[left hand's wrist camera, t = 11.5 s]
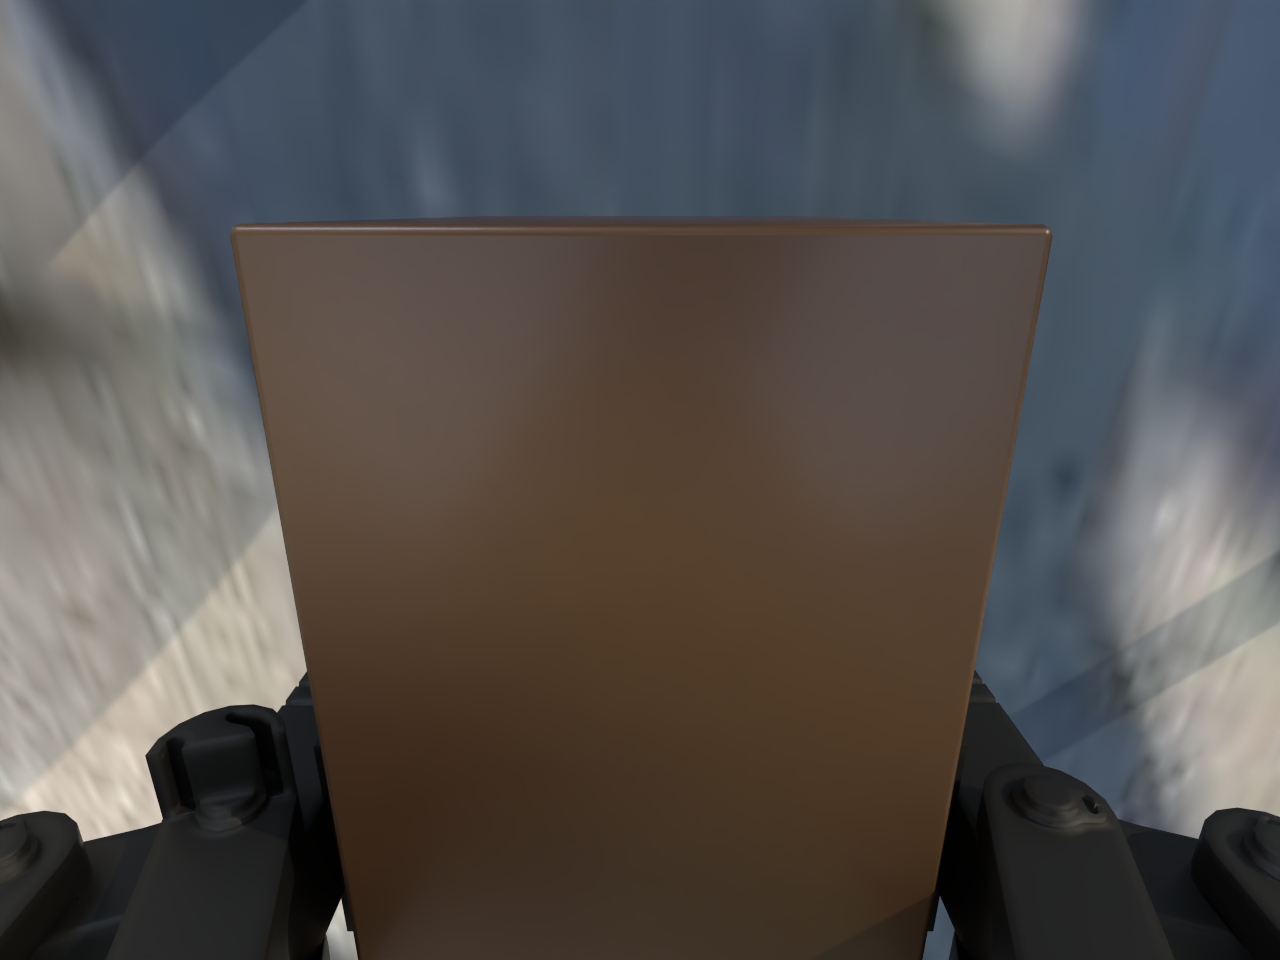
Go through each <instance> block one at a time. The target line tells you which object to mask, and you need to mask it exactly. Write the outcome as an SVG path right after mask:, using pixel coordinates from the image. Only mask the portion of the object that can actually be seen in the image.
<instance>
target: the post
mask: <svg viewBox="0 0 1280 960" xmlns="http://www.w3.org/2000/svg"><path fill="white" fill-rule="evenodd" d="M230 238H231V243H232V249H233V255H234V260H235V266H236V272H237V277H238V283H239V288H240V294H241V300H242V305H243V311H244V317H245V322H246V328H247V334H248V339H249V345H250V351H251V356H252V362H253V368H254V373H255V379H256V385H257V390H258V396H259V401H260V407H261V413H262V418H263V424H264V430H265V435H266V441H267V447H268V452H269V458H270V464H271V469H272V475H273V481H274V486H275V492H276V498H277V503H278V509H279V514H280V520H281V526H282V531H283V537H284V543H285V548H286V554H287V560H288V565H289V571H290V577H291V582H292V588H293V594H294V599H295V605H296V610H297V616H298V622H299V627H300V633H301V639H302V644H303V650H304V656H305V661H306V667H307V673H308V678H309V684H310V690H311V695H312V701H313V707H314V712H315V718H316V723H317V729H318V735H319V740H320V746H321V752H322V757H323V763H324V769H325V774H326V780H327V786H328V791H329V797H330V803H331V808H332V814H333V819H334V825H335V831H336V836H337V842H338V848H339V853H340V859H341V865H342V870H343V876H344V882H345V887H346V893H347V899H348V904H349V910H350V916H351V921H352V927H353V932H354V938H355V944H356V949H357V955H358V960H922V959H923V953H924V948H925V942H926V937H927V931H928V925H929V920H930V914H931V909H932V903H933V898H934V892H935V886H936V881H937V875H938V870H939V864H940V859H941V853H942V848H943V842H944V836H945V831H946V825H947V820H948V814H949V809H950V803H951V797H952V792H953V786H954V781H955V775H956V770H957V764H958V758H959V753H960V747H961V742H962V736H963V731H964V725H965V720H966V714H967V708H968V703H969V697H970V692H971V686H972V681H973V675H974V669H975V664H976V658H977V653H978V647H979V642H980V636H981V631H982V625H983V619H984V614H985V608H986V603H987V597H988V592H989V586H990V580H991V575H992V569H993V564H994V558H995V553H996V547H997V541H998V536H999V530H1000V525H1001V519H1002V514H1003V508H1004V503H1005V497H1006V491H1007V486H1008V480H1009V475H1010V469H1011V464H1012V458H1013V452H1014V447H1015V441H1016V436H1017V430H1018V425H1019V419H1020V414H1021V408H1022V402H1023V397H1024V391H1025V386H1026V380H1027V375H1028V369H1029V363H1030V358H1031V352H1032V347H1033V341H1034V336H1035V330H1036V324H1037V319H1038V313H1039V308H1040V302H1041V297H1042V291H1043V286H1044V280H1045V274H1046V269H1047V263H1048V258H1049V252H1050V247H1051V241H1052V232H1051V229H1050V228H1048V227H1046V226H1044V225H1035V224H1005V223H974V222H943V221H912V220H881V219H850V218H819V217H452V218H420V219H387V220H355V221H322V222H290V223H257V224H239V225H237V226H235V227H233V228H232V229H231V234H230Z"/></svg>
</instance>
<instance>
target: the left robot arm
mask: <svg viewBox="0 0 1280 960" xmlns="http://www.w3.org/2000/svg"><path fill="white" fill-rule="evenodd" d="M145 756H146V760H147V763H148V767H149V771H150V774H151V778H152V781H153V785H154V788H155V792H156V795H157V799H158V803H159V806H160V810H161V813H162V817H163V820H162V822H161V823H159V824H155V825H152V826H149V827H145V828H142V829H137V830H133V831H129V832H124V833H120V834H116V835H111V836H107V837H103V838H99V839H94V840H90V841H86V842H83V840H82V837H81V834H80V831H79V828H78V825H77V823H76V822H75V821H74V820H72V819H71V818H70V817H69V816H68V815H67V814H65V813H58V812H50V811H40V812H33V813H27V814H20V815H16V816H13V817H10V818H7V819H4V820H2V821H0V960H330V954H329V946H328V941H327V936H326V932H327V929H328V927H329V925H330V922H331V920H332V918H333V915H334V913H335V911H336V909H337V906H338V904H339V902H340V899H342V904H343V910H344V915H345V921H346V926H347V931H353V927H352V921H351V916H350V910H349V904H348V899H347V893H346V887H345V882H344V876H343V870H342V865H341V859H340V853H339V848H338V842H337V836H336V831H335V825H334V819H333V814H332V808H331V803H330V797H329V791H328V786H327V780H326V774H325V769H324V763H323V757H322V752H321V746H320V740H319V735H318V729H317V723H316V718H315V712H314V707H313V701H312V695H311V690H310V684H309V678H308V673H307V672H306V673H305V675H304V676H303V678H302V679H301V680H300V682H299V687H295V689H294V690H293V692H292V693H291V694H290V696H289V697H288V698H287V700H286V705H285V706H282V707H281V708H280V710H279V711H278V712H275V711H274V710H273V709H271V708H267V707H262V706H258V705H235V706H227V707H223V708H219V709H216V710H212V711H208V712H204V713H202V714H200V715H198V716H195V717H193V718H191V719H189V720H187V721H184V722H182V723H180V724H178V725H177V726H176V727H174V728H173V729H171V730H170V731H169V732H167V733H166V734H165V735H163V736H162V737H160V738H159V739H158V740H157V741H156V743H155V744H154V745H153V746H152V748H151V749H150V750H149V752H148V753H147V754H146V755H145ZM939 897H941V899H942V901H943V903H944V906H945V908H946V910H947V913H948V915H949V917H950V920H951V922H952V924H953V926H954V929H955V931H954V936H953V941H952V946H951V951H950V956H949V960H1280V817H1278V816H1275V815H1272V814H1269V813H1266V812H1262V811H1256V810H1249V809H1243V808H1231V809H1224V810H1216V811H1215V812H1214V813H1213V814H1212V815H1210V816H1209V817H1208V818H1207V819H1206V820H1205V821H1204V824H1203V827H1202V830H1201V833H1200V836H1199V839H1196V838H1191V837H1187V836H1183V835H1178V834H1174V833H1170V832H1165V831H1161V830H1157V829H1153V828H1148V827H1144V826H1140V825H1136V824H1132V823H1129V822H1126V821H1122V820H1119V819H1118V818H1117V817H1116V815H1115V814H1114V812H1113V811H1112V809H1111V808H1110V806H1109V805H1108V803H1107V802H1106V800H1105V799H1104V798H1102V797H1101V796H1100V795H1099V794H1098V793H1096V792H1095V791H1094V790H1093V789H1092V788H1090V787H1089V786H1088V785H1087V784H1085V783H1084V782H1082V781H1080V780H1078V779H1076V778H1074V777H1072V776H1070V775H1068V774H1066V773H1064V772H1062V771H1059V770H1056V769H1053V768H1049V767H1046V766H1044V765H1043V763H1042V762H1041V761H1040V759H1039V758H1038V757H1037V755H1036V754H1035V752H1034V751H1033V750H1032V748H1031V747H1030V746H1029V744H1028V743H1027V741H1026V740H1025V739H1024V737H1023V736H1022V734H1021V733H1020V732H1019V730H1018V729H1017V728H1016V726H1015V725H1014V723H1013V722H1012V721H1011V719H1010V718H1009V717H1008V715H1007V714H1006V712H1005V711H1004V710H1003V708H1002V707H1001V705H1000V704H999V703H996V702H995V697H994V696H993V694H992V693H991V692H990V690H989V689H988V687H987V686H986V685H985V684H982V679H981V678H980V676H979V675H978V674H977V672H976V671H975V670H974V675H973V681H972V686H971V692H970V697H969V703H968V708H967V714H966V720H965V725H964V731H963V736H962V742H961V747H960V753H959V758H958V764H957V770H956V775H955V781H954V786H953V792H952V797H951V803H950V809H949V814H948V820H947V825H946V831H945V836H944V842H943V848H942V853H941V859H940V864H939V870H938V875H937V881H936V886H935V892H934V898H933V903H932V909H931V914H930V920H929V925H928V931H933V929H934V924H935V918H936V913H937V908H938V902H939Z"/></svg>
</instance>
